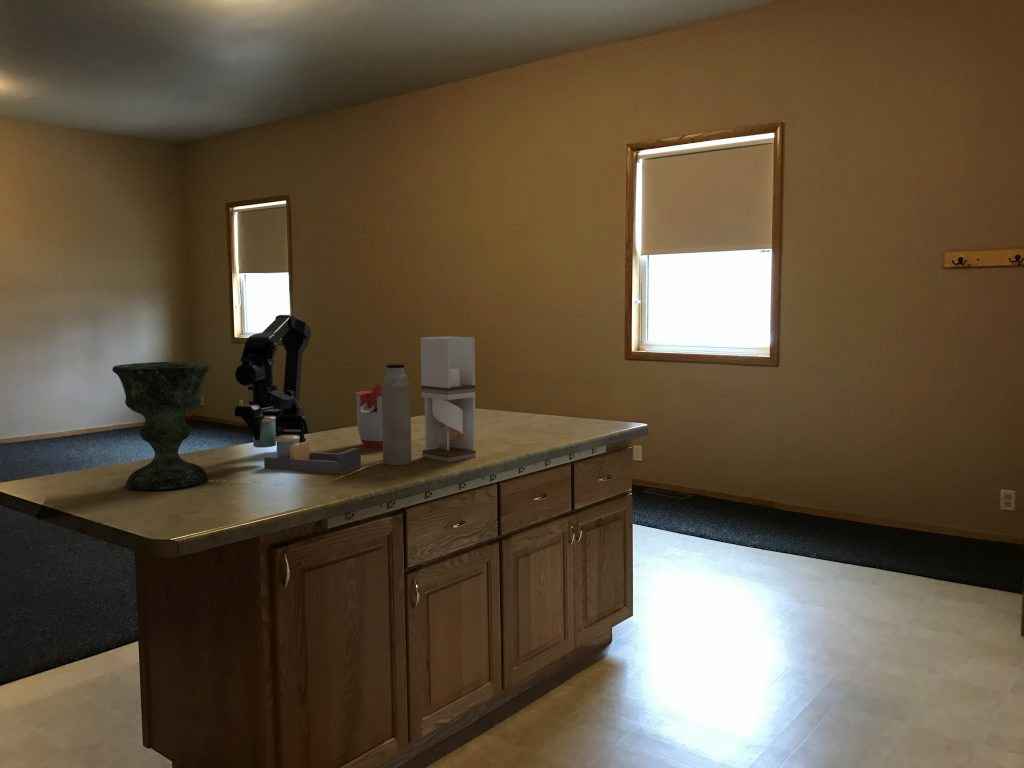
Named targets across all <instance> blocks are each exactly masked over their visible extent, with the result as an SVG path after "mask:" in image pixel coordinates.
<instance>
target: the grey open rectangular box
mask: <svg viewBox="0 0 1024 768" xmlns="http://www.w3.org/2000/svg"><path fill="white" fill-rule="evenodd" d="M361 456H362V455H361V454H360V449H359V447H353V448H350V449H347V450H343V451H341V452H339V453H335V452H334V453H333V452H320V451H319V452H316V451H310V460H307V459H290V458H277V457H270V456H265V457H263V466H264V467H263V468H264V470H275V471H277V470H278V471H290V472H293V471H294V472H307V473H322V474H323V473H324V474H339V475H340V476H342V475H344V476H346V475H345V474H347V473H349V474H351V473H353V472H352V471H354V472H356V471H358V470H357V469H359V470H360V468H361V466H362V462H361V461H362V459H361V458H362V457H361ZM355 470H356V471H355ZM350 472H351V473H350ZM347 475H348V474H347ZM342 477H343V476H342Z"/></svg>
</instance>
